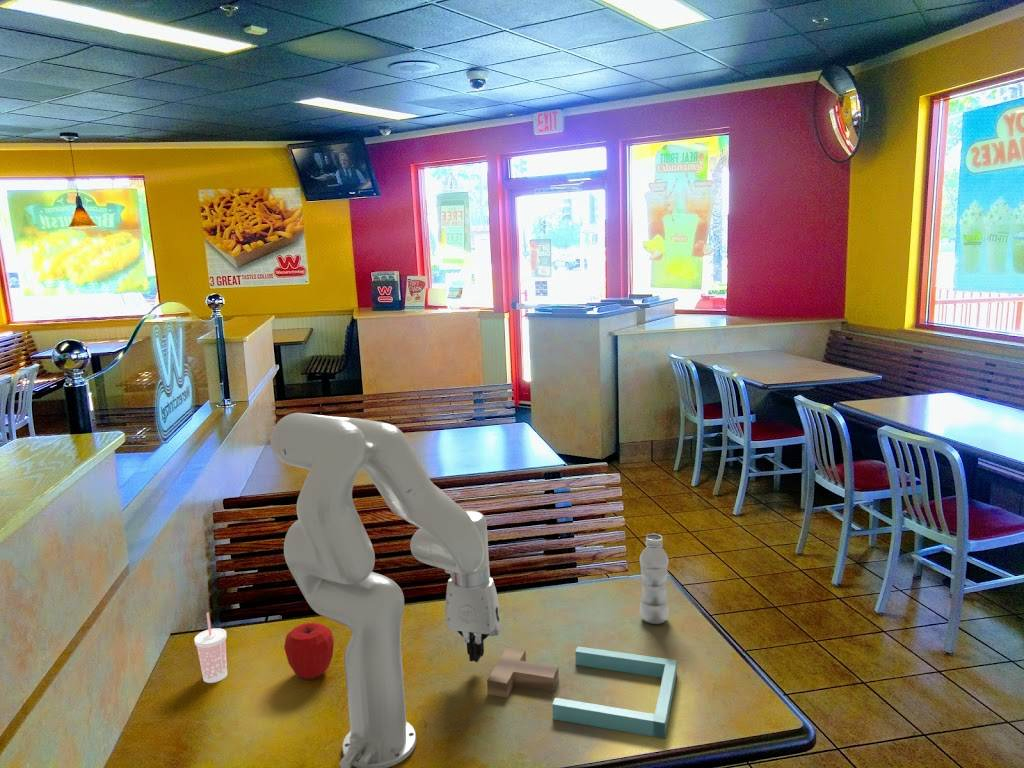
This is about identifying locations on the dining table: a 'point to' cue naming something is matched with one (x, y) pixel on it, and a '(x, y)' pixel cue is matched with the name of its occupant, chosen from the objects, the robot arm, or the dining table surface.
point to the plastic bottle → (654, 581)
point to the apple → (309, 649)
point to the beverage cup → (212, 653)
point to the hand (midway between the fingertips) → (476, 657)
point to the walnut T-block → (520, 674)
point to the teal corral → (617, 716)
